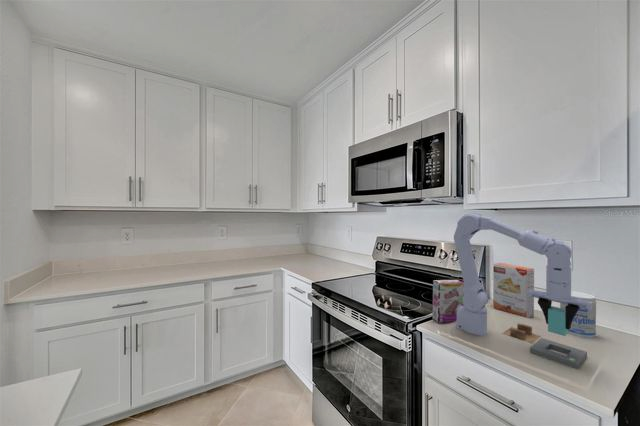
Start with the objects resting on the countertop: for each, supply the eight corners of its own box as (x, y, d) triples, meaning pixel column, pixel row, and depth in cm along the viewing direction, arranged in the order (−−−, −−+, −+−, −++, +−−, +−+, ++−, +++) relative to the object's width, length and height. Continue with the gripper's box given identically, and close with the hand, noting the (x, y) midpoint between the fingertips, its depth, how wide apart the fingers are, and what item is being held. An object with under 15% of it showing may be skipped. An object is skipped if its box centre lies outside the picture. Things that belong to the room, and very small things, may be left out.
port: (529, 355, 83) (529, 346, 83) (541, 345, 90) (541, 336, 90) (578, 372, 75) (578, 362, 75) (587, 359, 81) (587, 350, 81)
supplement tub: (576, 340, 93) (576, 298, 93) (552, 328, 103) (552, 290, 103) (604, 340, 93) (604, 298, 93) (578, 328, 103) (578, 290, 103)
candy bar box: (438, 324, 107) (438, 283, 107) (432, 319, 112) (432, 279, 112) (464, 322, 108) (464, 282, 108) (456, 317, 113) (457, 279, 113)
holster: (501, 336, 96) (501, 326, 96) (511, 329, 102) (511, 320, 102) (532, 346, 89) (532, 336, 89) (541, 338, 94) (541, 329, 94)
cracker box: (492, 308, 124) (492, 263, 124) (500, 306, 127) (500, 262, 126) (526, 319, 111) (526, 269, 111) (534, 317, 114) (534, 268, 114)
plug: (547, 331, 83) (548, 308, 83) (551, 328, 85) (551, 306, 85) (565, 336, 79) (565, 312, 79) (568, 332, 82) (568, 309, 82)
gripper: (594, 284, 78) (594, 330, 79) (533, 275, 90) (533, 315, 90) (589, 289, 74) (589, 337, 74) (526, 278, 86) (526, 320, 86)
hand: (558, 325), depth 82 cm, fingers closed on plug, 4 cm apart
